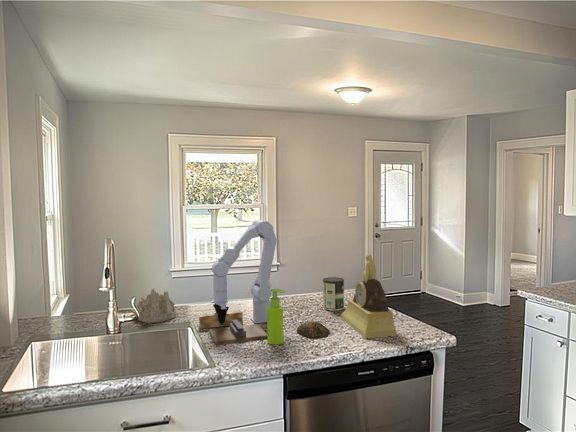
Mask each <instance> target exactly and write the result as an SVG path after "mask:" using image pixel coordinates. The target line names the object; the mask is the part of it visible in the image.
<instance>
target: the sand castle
mask: <svg viewBox="0 0 576 432" xmlns="http://www.w3.org/2000/svg"><path fill="white" fill-rule="evenodd" d="M136 309H137V314H138V313H139V320H138V321H140V322H143V323H160V322H164V321H169V320H172V319H176V318H177V317H178V315H177V312H176V308H175V303H174V301H172V299H170V295H169V291H168V290H164V292H163V294H162V293H159V292H158V291H156V290H155V288H153V287H152V288H151V291H150V293H149V294H148V293H147V297H146V298H145V297H143V296H142V297H141V299H140V300H139V301H138V303H137V305H136ZM175 317H176V318H175Z"/></svg>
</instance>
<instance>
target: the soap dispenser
mask: <svg viewBox="0 0 576 432" xmlns="http://www.w3.org/2000/svg"><path fill="white" fill-rule="evenodd" d="M270 291H271V293H272V296H271V297H270V298H269V299H270V305H271V306H269V307H267V322H266V323H267V335H268V338H267V344H270V345H274V346H276V345H282V344H283V343H284V307H283V306H281V305H280V303H281V302H280V297H279V296H278V293H280V294H283V293H285V292H286V291H285V290H284V289H279V288H273V289H270Z"/></svg>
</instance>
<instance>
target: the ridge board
mask: <svg viewBox="0 0 576 432" xmlns="http://www.w3.org/2000/svg"><path fill="white" fill-rule="evenodd" d="M209 334H210V336H211V338H212V340H213V342H214V344H215V345H216V346H217V345H222V344H223V345H225V344H232V343H240V342H241V343H242V342H249V341H256V340H264V339H265V340H266V339H268V333H267V332H265V331H264V330H263V329H262V327H261V326H260V325H259V323H254V324H248V325H243V324H240V322H238V320H232V323H230V325H229V327H228V326H227V327H220V328H213V329H212V328H211V329H209Z"/></svg>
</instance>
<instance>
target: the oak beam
mask: <svg viewBox="0 0 576 432" xmlns="http://www.w3.org/2000/svg"><path fill="white" fill-rule="evenodd" d="M243 316H244V315H243V311H242V310H233V311H227V313H226V318H225V323H219V320H218V314H217V313H216V312H215V313H204V314H198V325H199V329H200V330H201V329H208V328H209V329H210V328H211V329H212V328H216V327H217V328H218V327H226V326H227V327H228V326H230V323H232V320H238V322H240V324H241V325H243V324H244V321H243V320H244V319H243V318H244V317H243Z"/></svg>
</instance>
